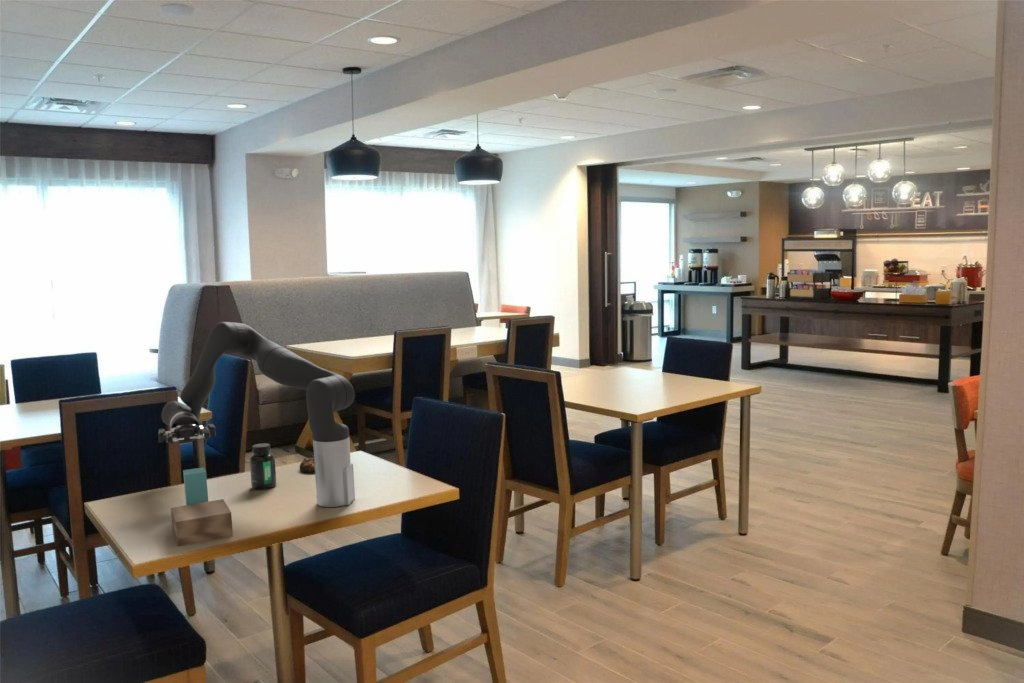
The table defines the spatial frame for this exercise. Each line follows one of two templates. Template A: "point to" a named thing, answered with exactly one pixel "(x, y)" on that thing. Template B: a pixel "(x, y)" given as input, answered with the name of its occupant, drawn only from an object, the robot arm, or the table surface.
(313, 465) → the bread roll
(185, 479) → the teal post
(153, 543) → the table surface
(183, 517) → the walnut block
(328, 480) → the robot arm
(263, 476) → the supplement bottle
